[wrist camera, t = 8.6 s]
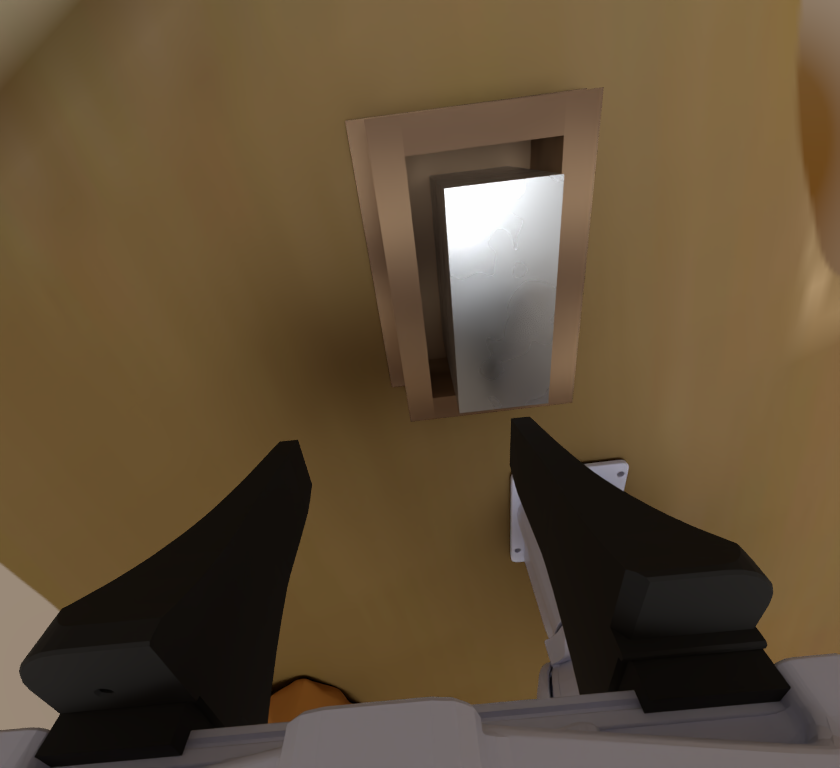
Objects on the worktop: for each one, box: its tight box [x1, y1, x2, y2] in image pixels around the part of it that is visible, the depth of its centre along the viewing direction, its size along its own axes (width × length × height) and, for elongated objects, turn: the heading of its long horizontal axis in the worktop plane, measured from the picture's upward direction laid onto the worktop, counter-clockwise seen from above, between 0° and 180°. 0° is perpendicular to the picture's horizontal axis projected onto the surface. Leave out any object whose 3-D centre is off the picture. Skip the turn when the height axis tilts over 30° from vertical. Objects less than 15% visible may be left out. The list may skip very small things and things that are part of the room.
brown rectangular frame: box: [345, 87, 604, 422], centre depth 18 cm, size 13×10×4 cm
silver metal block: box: [429, 166, 564, 413], centre depth 17 cm, size 8×4×7 cm, turn 6°
